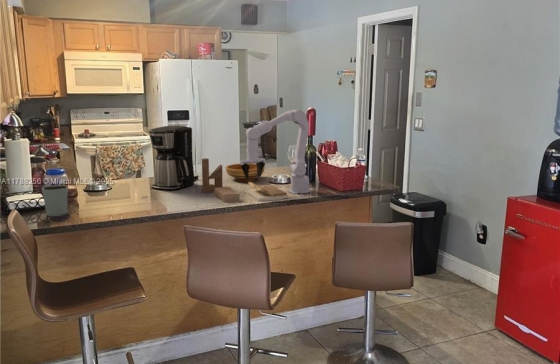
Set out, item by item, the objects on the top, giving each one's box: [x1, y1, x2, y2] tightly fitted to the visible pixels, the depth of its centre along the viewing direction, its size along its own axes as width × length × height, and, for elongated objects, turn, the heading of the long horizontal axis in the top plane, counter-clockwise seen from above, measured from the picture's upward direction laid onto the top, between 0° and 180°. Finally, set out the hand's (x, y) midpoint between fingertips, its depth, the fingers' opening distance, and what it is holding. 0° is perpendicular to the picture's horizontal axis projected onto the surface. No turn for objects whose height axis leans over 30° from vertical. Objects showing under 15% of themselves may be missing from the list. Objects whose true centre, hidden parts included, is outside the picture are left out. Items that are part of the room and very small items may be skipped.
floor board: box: [244, 185, 289, 202], centre depth 239 cm, size 16×20×3 cm
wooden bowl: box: [224, 163, 266, 182], centre depth 280 cm, size 30×24×8 cm
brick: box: [214, 186, 240, 203], centre depth 233 cm, size 17×8×5 cm, turn 25°
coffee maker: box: [148, 125, 201, 191], centre depth 261 cm, size 23×32×34 cm
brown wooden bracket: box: [201, 158, 224, 193], centre depth 247 cm, size 4×11×18 cm, turn 115°
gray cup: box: [41, 184, 69, 217], centre depth 203 cm, size 10×10×12 cm
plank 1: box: [247, 181, 267, 190], centre depth 242 cm, size 8×9×1 cm
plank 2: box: [253, 184, 274, 196], centre depth 234 cm, size 8×9×1 cm
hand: (252, 177), depth 239 cm, fingers open, 7 cm apart
